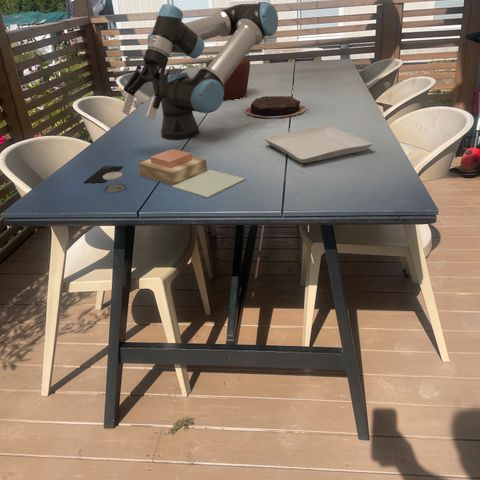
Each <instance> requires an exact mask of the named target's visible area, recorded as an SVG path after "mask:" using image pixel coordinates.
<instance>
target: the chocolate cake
mask: <svg viewBox="0 0 480 480" xmlns="http://www.w3.org/2000/svg"><path fill="white" fill-rule="evenodd" d="M244 111H245V112H244V113H245V114H246V115H247V114H248V115H247V116H250V117H252V118H254V117H255V118H254V119H271V118H276V119H286V118H292V117H293V118H294V117H297V115H298V116H300V114H301V115H302V114H303V113H304V112H305V111H307V108H306V106H305V105H303V104H301V101H300V100H297V99H296V98H295V97H293V96H285V95H283V96H282V95H280V96H279V95H278V96H277V95H276V96H275V95H269V96H267V95H266V96H261V97H258V98H255V100H253V101H252V102H251V104H250V106H249V107H247V108H246V109H244Z"/></svg>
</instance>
